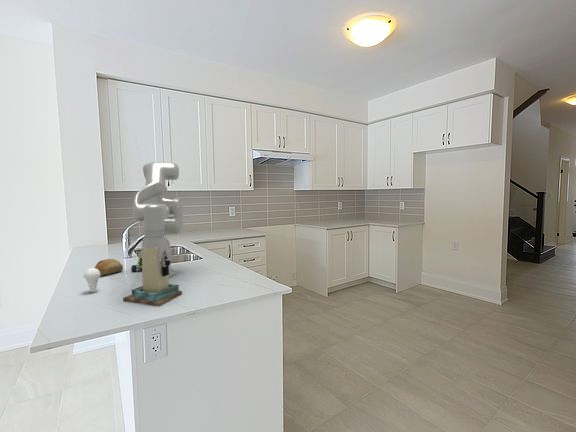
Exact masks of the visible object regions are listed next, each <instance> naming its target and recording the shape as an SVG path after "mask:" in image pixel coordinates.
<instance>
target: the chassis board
mask: <svg viewBox="0 0 576 432" xmlns="http://www.w3.org/2000/svg"><path fill="white" fill-rule="evenodd" d="M179 289H180V288H179V284H176V283H169V288H167V289H165V290H163V291H160V292H158V293H151V292H144V291H143V285H140V286H139V287H136V288H134V289H131V294H129V295H126V296H124V297H122V299H123V300H122V301H123V302H125V303H126V302H127V303H133V304H139V305H146V306H147V305H148V306H154V307H161V306H163V305H164V304H166V303H168V302H170V301H171V300H174V299H176V298H178V297H180V296H182V295H183V293H182V292H183V291H182V290H179Z"/></svg>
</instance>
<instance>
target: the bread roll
mask: <svg viewBox="0 0 576 432" xmlns="http://www.w3.org/2000/svg"><path fill="white" fill-rule="evenodd" d="M94 268H96V269H98V270H99V271H100V277H101V276H105V275H110V274H115V273H119V272H121V271H123V269H124V267H123V264H122V263H121V262H120V260H117V259H114V258H106V259H103V260H100V261H98V262H97V264H95V267H94Z"/></svg>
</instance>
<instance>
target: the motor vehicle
mask: <svg viewBox="0 0 576 432" xmlns="http://www.w3.org/2000/svg"><path fill="white" fill-rule="evenodd" d="M130 267H131V268H130V269H131V273H136V272H137V270H142V262H141V261H140V258H139V257H138V260H137V264H132V265H131V266H130ZM135 271H136V272H135Z"/></svg>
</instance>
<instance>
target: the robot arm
mask: <svg viewBox="0 0 576 432" xmlns="http://www.w3.org/2000/svg"><path fill="white" fill-rule="evenodd" d="M142 172H143V175H144V179H145V186H143V187H142V188H141V189H139V190H138V192H137V193H136V194H135V195H134V198H133V203H132V204H133V205H132V216H133V218H134V220H135V221H138V222H143V229H144V230H143V235H144V237H143V238H142V242H141V248H142V247H152V248H158V262H161V264H162V265H163V267H162V276H167V275H169V278H170V277H173V276H175V272H174V271H173V270H172V265H171V263H172V261H173V259H174V256H173V254H171V243H170V240H169V239H168V238H167V237H166V236H168V235H181V234H182V233H183V231H184V211H183V210H184V209H183V202H182V199H181V197H178V196H168V187H167V186H166V181H177V180H178V179H179V176H180V168H179V166H178V164H177V163H175V162H149V163H148V162H147V163H145V164H143V167H142ZM147 200H149V202H150V203H145V201H147ZM170 215H172V216H170ZM167 246H168V249H167ZM137 256H138V259H139V258H140V261H141V262H142V251H141V252H139V253H138V255H137ZM164 256H166V257H165V259H163V258H164ZM167 259H168V260H167ZM164 261H165V262H164Z"/></svg>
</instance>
